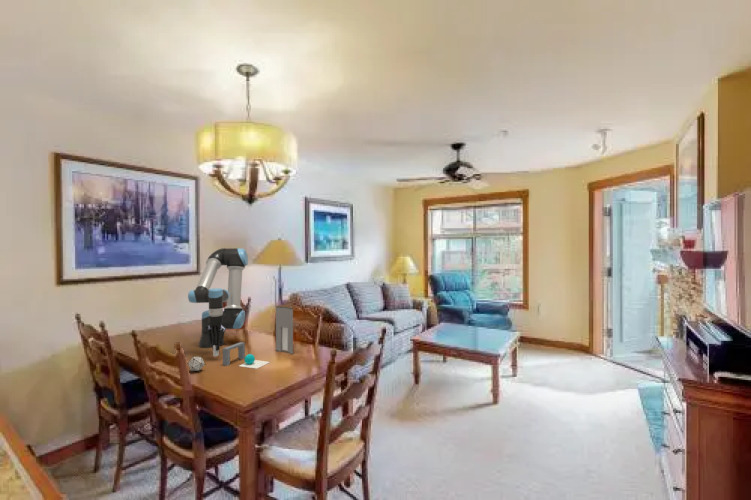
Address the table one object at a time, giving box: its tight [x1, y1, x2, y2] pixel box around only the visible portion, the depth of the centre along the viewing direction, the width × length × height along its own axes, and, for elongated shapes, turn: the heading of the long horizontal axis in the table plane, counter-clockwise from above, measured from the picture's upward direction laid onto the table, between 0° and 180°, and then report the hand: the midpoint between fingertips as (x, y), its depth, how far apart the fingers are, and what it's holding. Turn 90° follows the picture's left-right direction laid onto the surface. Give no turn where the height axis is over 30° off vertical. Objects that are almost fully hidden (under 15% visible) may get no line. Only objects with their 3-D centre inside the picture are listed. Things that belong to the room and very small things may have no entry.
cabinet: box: [275, 302, 294, 355], centre depth 241 cm, size 21×10×28 cm, turn 17°
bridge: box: [222, 341, 246, 367], centre depth 218 cm, size 3×14×9 cm, turn 160°
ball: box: [243, 353, 256, 364], centre depth 213 cm, size 6×6×6 cm
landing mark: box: [238, 359, 271, 370], centre depth 213 cm, size 12×12×1 cm
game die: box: [186, 355, 207, 373], centre depth 201 cm, size 9×8×10 cm
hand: (216, 355), depth 222 cm, fingers closed
